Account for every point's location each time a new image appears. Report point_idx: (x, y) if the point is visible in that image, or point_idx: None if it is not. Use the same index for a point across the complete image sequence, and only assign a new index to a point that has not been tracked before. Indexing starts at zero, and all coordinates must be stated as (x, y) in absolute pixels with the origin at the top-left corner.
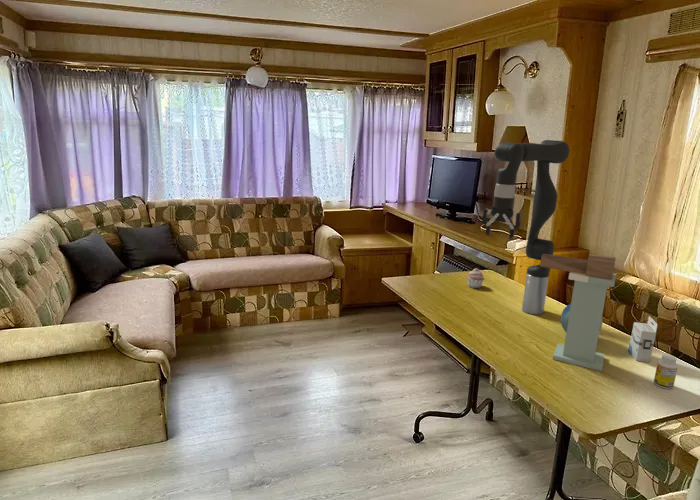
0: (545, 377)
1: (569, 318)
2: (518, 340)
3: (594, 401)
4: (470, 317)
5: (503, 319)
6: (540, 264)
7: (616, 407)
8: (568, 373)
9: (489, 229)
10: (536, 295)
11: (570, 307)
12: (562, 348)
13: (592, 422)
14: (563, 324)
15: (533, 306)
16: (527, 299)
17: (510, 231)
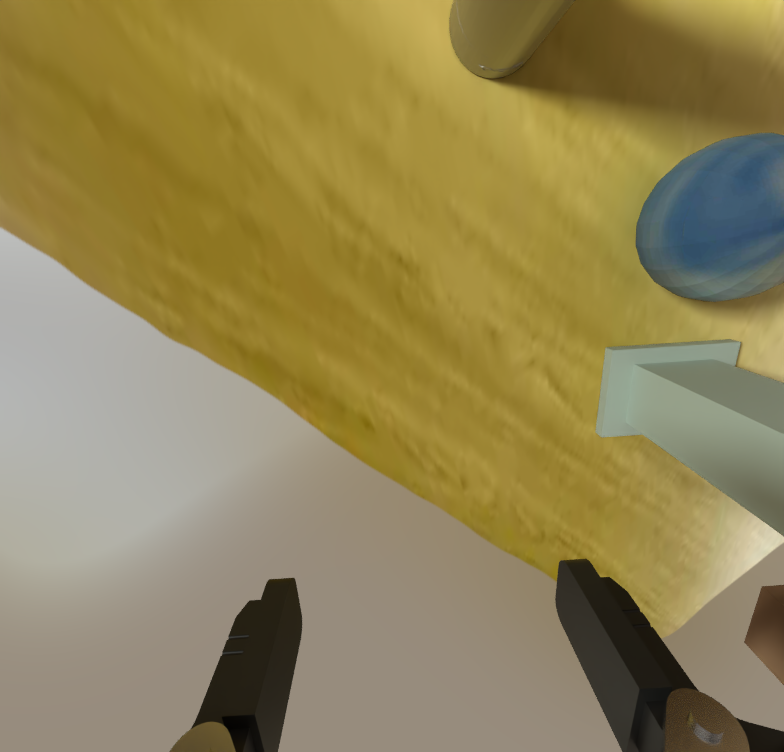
0: (584, 525)
1: (715, 485)
2: (497, 372)
3: (676, 556)
4: (310, 286)
5: (414, 224)
6: (758, 655)
7: (714, 554)
8: (632, 480)
9: (283, 719)
10: (541, 30)
11: (720, 259)
12: (625, 379)
13: (665, 617)
14: (649, 271)
15: (513, 61)
16: (488, 43)
17: (615, 715)
